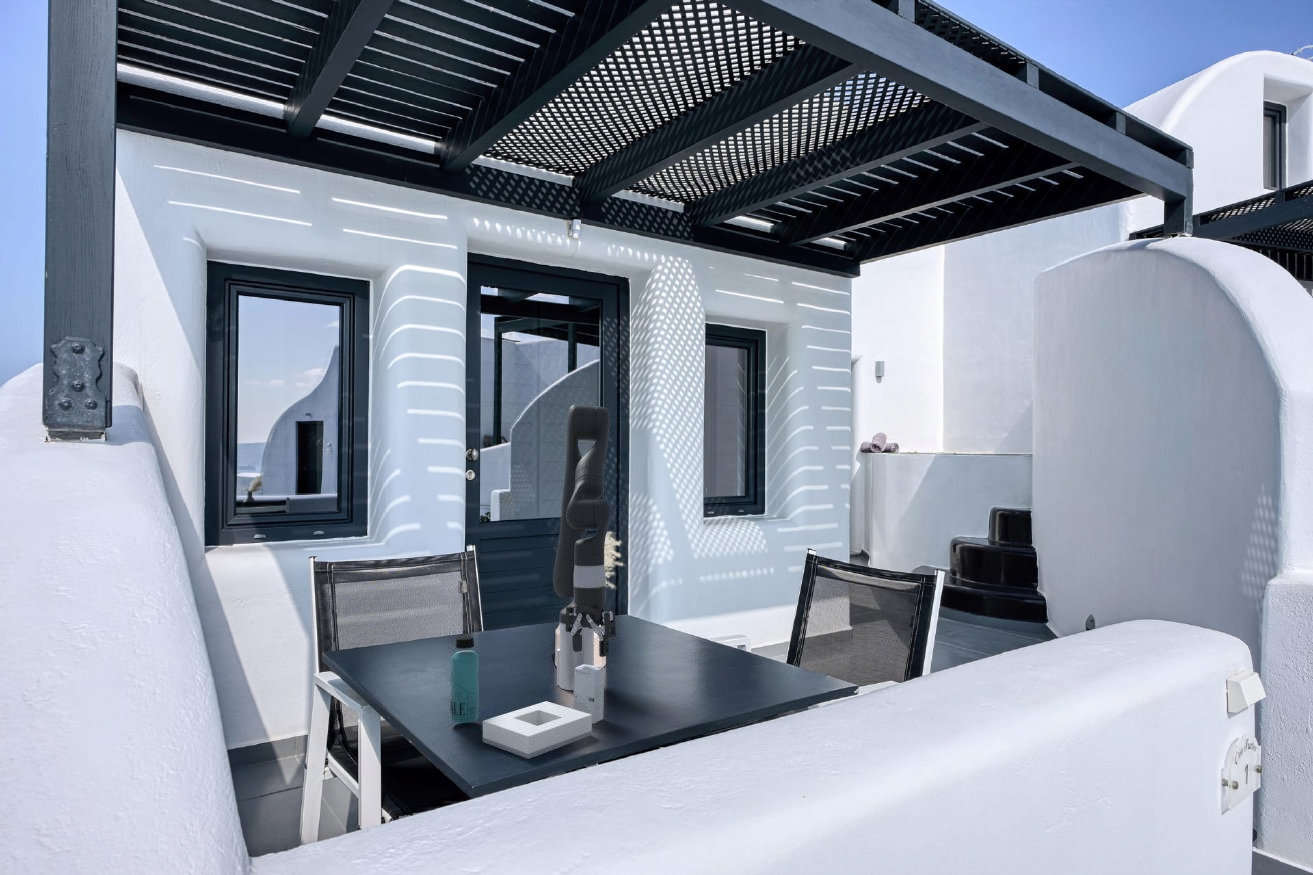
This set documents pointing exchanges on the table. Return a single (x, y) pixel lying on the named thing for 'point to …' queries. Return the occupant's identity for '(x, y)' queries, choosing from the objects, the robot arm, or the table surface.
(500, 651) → the table surface
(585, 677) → the skincare box
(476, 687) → the beverage bottle
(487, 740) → the white flat block
